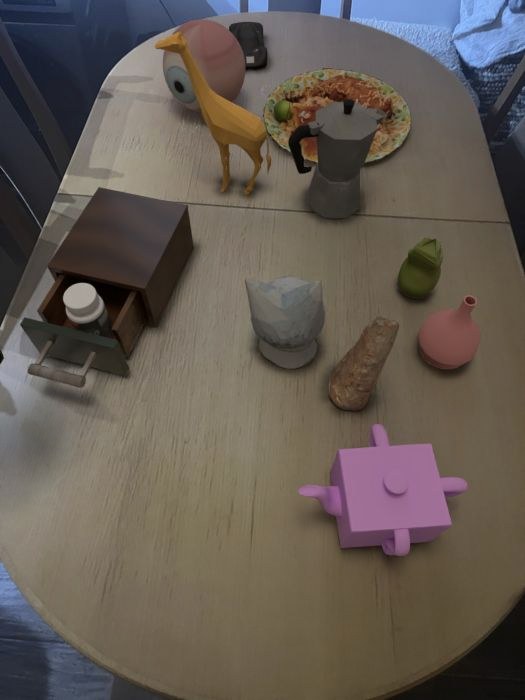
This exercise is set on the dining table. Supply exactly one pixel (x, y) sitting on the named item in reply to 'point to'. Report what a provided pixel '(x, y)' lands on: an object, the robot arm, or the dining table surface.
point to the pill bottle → (87, 310)
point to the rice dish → (335, 86)
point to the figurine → (287, 319)
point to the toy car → (251, 43)
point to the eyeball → (206, 62)
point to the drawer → (80, 346)
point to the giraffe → (222, 115)
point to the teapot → (387, 495)
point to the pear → (421, 269)
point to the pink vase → (450, 336)
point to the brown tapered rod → (362, 364)
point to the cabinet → (129, 246)
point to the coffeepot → (337, 155)
